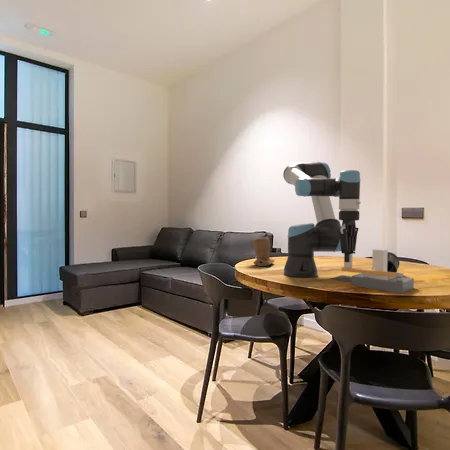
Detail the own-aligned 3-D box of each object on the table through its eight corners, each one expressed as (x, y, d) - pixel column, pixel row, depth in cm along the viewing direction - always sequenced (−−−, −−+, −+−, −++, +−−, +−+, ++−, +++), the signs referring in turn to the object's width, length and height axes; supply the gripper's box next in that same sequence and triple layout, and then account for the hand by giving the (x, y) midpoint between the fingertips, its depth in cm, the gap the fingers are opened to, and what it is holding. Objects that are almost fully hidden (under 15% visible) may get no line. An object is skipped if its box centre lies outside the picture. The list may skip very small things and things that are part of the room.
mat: (330, 280, 135) (330, 278, 135) (342, 276, 143) (342, 275, 143) (355, 284, 127) (355, 282, 127) (367, 280, 135) (367, 278, 135)
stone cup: (256, 262, 184) (256, 236, 184) (276, 263, 180) (276, 236, 179) (247, 266, 170) (248, 238, 170) (269, 267, 166) (269, 238, 165)
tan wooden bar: (403, 276, 114) (403, 273, 114) (402, 277, 112) (402, 274, 112) (343, 270, 127) (343, 267, 127) (341, 270, 125) (341, 267, 125)
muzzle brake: (370, 282, 130) (371, 257, 130) (376, 272, 155) (377, 250, 154) (397, 285, 126) (397, 259, 125) (399, 274, 150) (399, 252, 149)
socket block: (351, 286, 124) (352, 272, 123) (364, 281, 132) (365, 268, 132) (402, 294, 111) (402, 279, 110) (413, 289, 119) (413, 274, 119)
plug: (362, 285, 122) (363, 249, 122) (372, 282, 128) (372, 247, 128) (387, 289, 116) (388, 251, 115) (396, 286, 122) (397, 249, 121)
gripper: (351, 210, 118) (350, 273, 119) (365, 210, 127) (364, 269, 128) (332, 210, 123) (331, 270, 124) (347, 210, 132) (346, 266, 133)
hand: (348, 269), depth 126 cm, fingers closed
